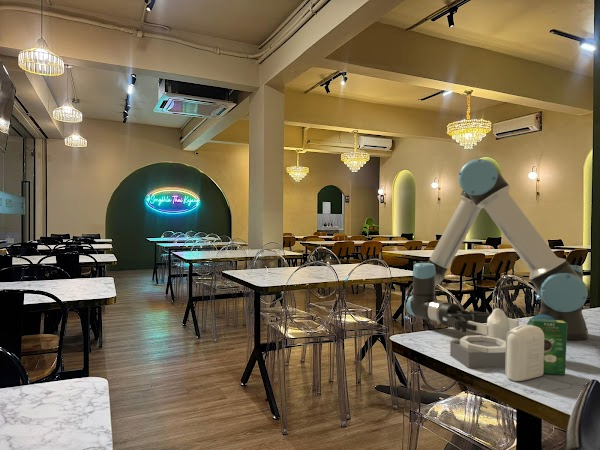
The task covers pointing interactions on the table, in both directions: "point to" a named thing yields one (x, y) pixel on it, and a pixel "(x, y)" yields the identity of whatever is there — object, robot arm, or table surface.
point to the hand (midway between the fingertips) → (503, 327)
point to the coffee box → (553, 344)
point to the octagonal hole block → (479, 351)
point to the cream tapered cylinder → (498, 324)
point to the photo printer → (524, 353)
